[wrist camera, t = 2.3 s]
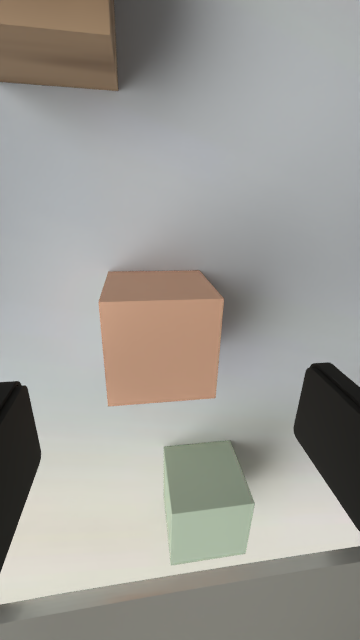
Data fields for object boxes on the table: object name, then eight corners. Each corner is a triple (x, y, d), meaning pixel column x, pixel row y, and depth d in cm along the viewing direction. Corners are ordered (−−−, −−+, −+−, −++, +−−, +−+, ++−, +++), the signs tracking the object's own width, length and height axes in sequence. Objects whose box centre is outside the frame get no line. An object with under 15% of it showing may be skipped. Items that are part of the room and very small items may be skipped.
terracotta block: (108, 271, 16) (98, 302, 11) (198, 270, 17) (223, 298, 12) (114, 352, 18) (108, 406, 13) (195, 348, 18) (215, 398, 14)
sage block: (163, 446, 21) (171, 514, 17) (229, 439, 22) (254, 503, 17) (163, 492, 23) (170, 565, 19) (224, 485, 24) (245, 553, 19)
